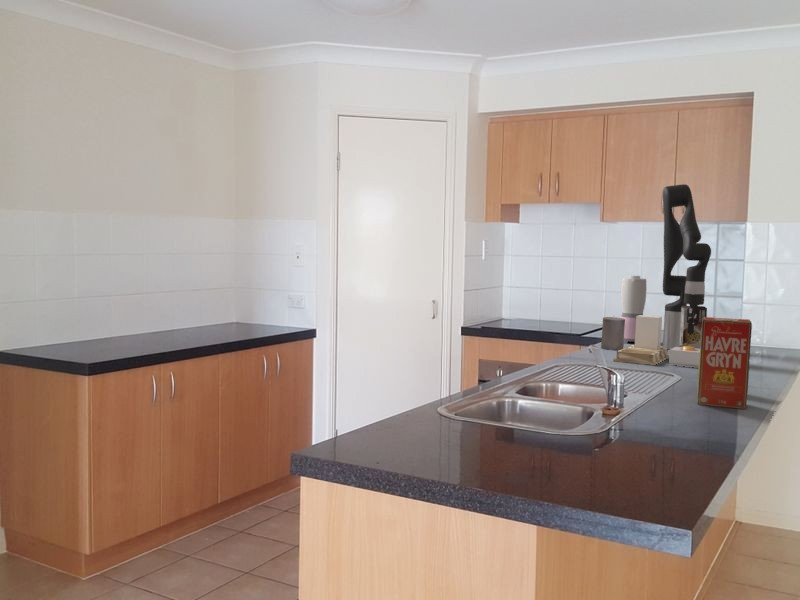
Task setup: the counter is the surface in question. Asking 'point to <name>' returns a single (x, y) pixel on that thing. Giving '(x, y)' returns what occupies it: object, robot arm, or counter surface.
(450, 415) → the counter surface
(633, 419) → the counter surface
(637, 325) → the carton
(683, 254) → the robot arm
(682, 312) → the coffee box
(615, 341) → the pillar candle
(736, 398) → the food packaging
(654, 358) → the pallet
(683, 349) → the button
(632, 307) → the blender
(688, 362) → the console
